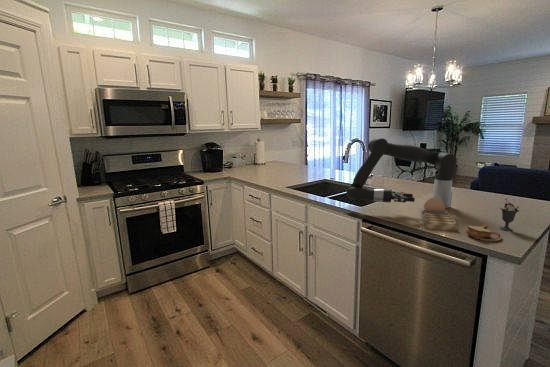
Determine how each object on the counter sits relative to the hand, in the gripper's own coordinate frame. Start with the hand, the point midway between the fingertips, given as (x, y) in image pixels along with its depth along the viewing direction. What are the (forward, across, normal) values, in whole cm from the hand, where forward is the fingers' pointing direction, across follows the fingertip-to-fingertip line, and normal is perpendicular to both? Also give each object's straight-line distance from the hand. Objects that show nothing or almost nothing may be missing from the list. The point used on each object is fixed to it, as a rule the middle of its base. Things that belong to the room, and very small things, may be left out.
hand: (413, 197), depth 150 cm
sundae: (+40, -9, +10) cm, 42 cm away
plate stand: (+11, 0, +10) cm, 15 cm away
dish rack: (+11, -11, +10) cm, 19 cm away
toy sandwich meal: (+27, -22, +11) cm, 36 cm away
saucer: (+11, 0, +4) cm, 12 cm away
